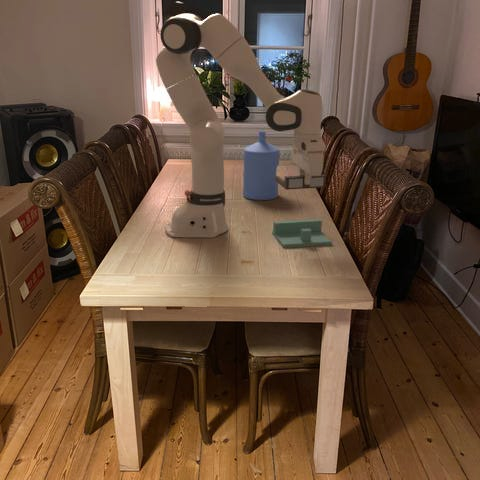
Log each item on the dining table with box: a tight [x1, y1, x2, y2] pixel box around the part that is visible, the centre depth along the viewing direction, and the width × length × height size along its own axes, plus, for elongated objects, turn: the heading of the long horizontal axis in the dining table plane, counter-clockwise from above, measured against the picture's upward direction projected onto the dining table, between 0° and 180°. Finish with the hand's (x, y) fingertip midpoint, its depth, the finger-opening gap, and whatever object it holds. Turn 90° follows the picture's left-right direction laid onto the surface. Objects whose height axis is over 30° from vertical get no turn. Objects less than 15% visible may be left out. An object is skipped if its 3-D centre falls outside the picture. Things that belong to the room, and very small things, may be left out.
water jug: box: [242, 131, 281, 201], centre depth 220 cm, size 16×16×28 cm
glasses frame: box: [275, 173, 327, 191], centre depth 175 cm, size 14×13×4 cm
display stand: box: [271, 218, 333, 249], centre depth 174 cm, size 17×14×5 cm
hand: (304, 182), depth 170 cm, fingers closed on glasses frame, 2 cm apart
